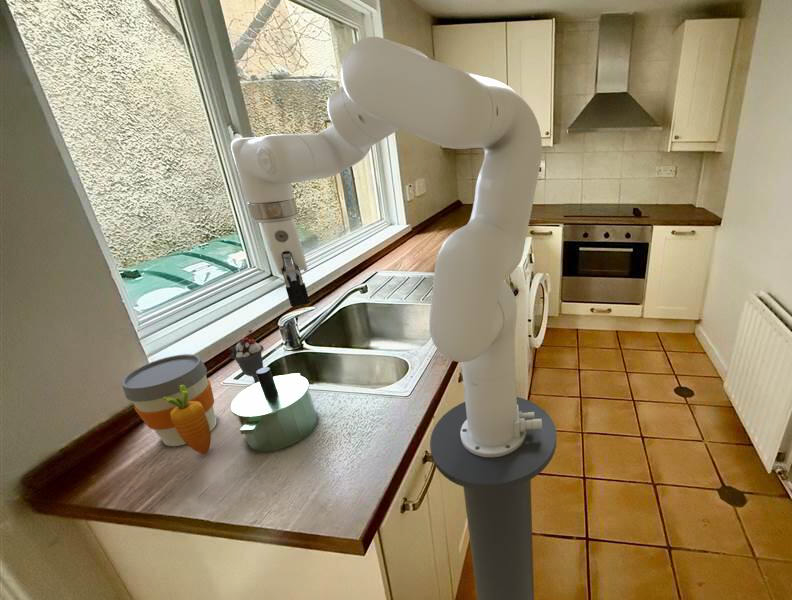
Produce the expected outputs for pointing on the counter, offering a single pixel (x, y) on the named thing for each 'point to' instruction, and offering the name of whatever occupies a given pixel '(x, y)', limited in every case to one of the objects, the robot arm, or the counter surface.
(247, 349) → the sundae
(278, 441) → the pot
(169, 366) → the reusable coffee cup
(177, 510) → the counter surface
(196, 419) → the carrot
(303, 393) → the lid
